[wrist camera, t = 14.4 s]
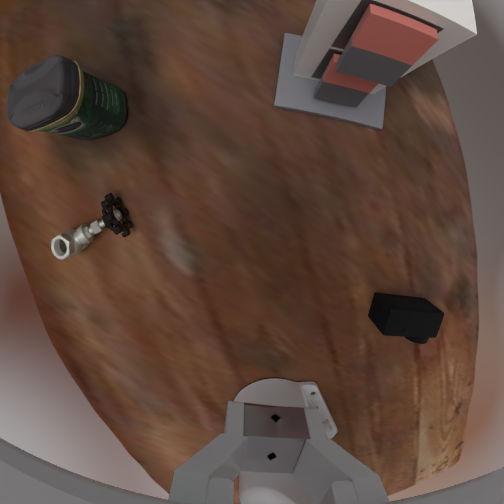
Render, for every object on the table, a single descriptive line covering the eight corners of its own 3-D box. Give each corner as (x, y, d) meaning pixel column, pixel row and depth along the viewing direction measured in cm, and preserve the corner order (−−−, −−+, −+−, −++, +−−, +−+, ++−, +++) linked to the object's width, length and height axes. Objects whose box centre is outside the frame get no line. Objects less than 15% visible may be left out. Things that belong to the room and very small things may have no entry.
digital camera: (365, 322, 49) (380, 342, 42) (373, 292, 48) (390, 309, 41) (415, 326, 50) (433, 344, 43) (424, 298, 49) (444, 313, 42)
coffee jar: (126, 82, 40) (65, 40, 22) (131, 129, 42) (66, 106, 24) (73, 100, 40) (1, 75, 22) (77, 146, 42) (0, 137, 24)
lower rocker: (314, 90, 38) (334, 53, 28) (356, 99, 38) (385, 67, 28) (314, 97, 38) (333, 61, 28) (356, 107, 38) (385, 76, 28)
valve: (81, 262, 47) (137, 230, 46) (60, 273, 40) (121, 238, 39) (64, 226, 45) (119, 191, 44) (41, 233, 39) (100, 194, 38)
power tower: (283, 37, 39) (315, -80, 13) (383, 61, 40) (483, -13, 14) (273, 107, 42) (303, 22, 16) (378, 130, 42) (497, 95, 16)
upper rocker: (336, 62, 27) (369, 3, 17) (390, 78, 27) (436, 29, 17) (336, 71, 27) (370, 13, 17) (390, 87, 27) (438, 39, 17)
